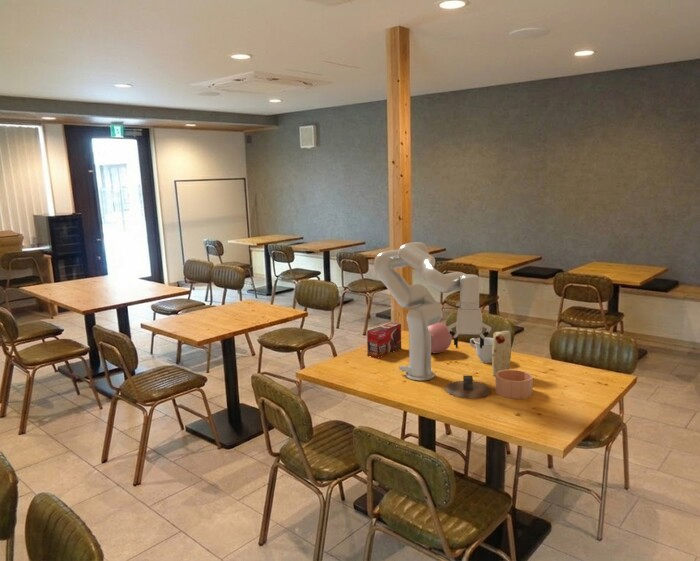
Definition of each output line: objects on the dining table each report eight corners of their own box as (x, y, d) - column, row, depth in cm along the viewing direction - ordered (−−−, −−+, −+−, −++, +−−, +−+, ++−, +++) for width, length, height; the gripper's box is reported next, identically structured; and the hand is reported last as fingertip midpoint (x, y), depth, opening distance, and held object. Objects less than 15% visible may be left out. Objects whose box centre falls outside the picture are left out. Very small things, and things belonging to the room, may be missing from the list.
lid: (445, 398, 215) (445, 384, 214) (445, 382, 232) (445, 369, 231) (492, 400, 212) (492, 385, 211) (488, 383, 229) (488, 370, 228)
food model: (499, 379, 233) (500, 334, 230) (487, 375, 239) (488, 331, 235) (514, 374, 239) (515, 330, 235) (502, 370, 244) (503, 327, 241)
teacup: (476, 354, 269) (476, 334, 267) (504, 360, 258) (504, 340, 257) (463, 360, 260) (463, 340, 258) (491, 366, 250) (491, 345, 248)
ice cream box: (391, 346, 285) (391, 322, 283) (401, 349, 281) (401, 323, 279) (367, 356, 270) (366, 330, 268) (377, 358, 266) (376, 332, 264)
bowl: (497, 397, 213) (497, 380, 212) (494, 385, 227) (494, 369, 226) (534, 399, 211) (535, 382, 210) (529, 386, 224) (529, 370, 223)
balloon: (407, 354, 272) (407, 324, 269) (435, 346, 284) (435, 317, 281) (430, 361, 260) (430, 329, 257) (458, 352, 272) (458, 322, 270)
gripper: (447, 307, 214) (447, 349, 217) (492, 308, 211) (491, 350, 214) (447, 303, 221) (446, 344, 224) (490, 303, 218) (490, 345, 221)
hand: (468, 347), depth 219 cm, fingers open, 9 cm apart
